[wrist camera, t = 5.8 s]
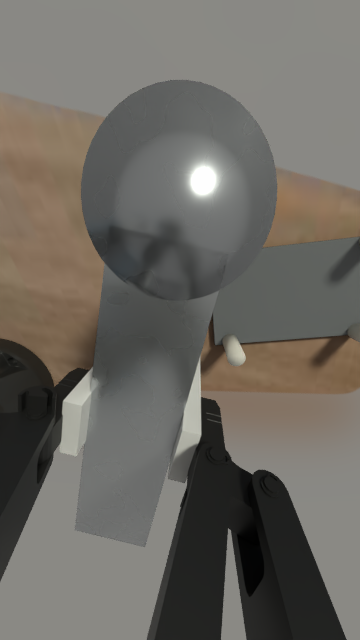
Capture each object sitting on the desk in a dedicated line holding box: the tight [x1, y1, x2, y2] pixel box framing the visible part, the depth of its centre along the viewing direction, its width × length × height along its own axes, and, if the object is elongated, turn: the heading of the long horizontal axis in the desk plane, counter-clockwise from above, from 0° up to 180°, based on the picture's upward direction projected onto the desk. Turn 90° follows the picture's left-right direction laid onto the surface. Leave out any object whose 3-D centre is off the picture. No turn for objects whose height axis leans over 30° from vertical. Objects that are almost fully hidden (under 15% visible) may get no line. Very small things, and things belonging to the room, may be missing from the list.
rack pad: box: [213, 237, 360, 366], centre depth 26 cm, size 20×13×6 cm, turn 96°
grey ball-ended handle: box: [75, 80, 277, 547], centre depth 12 cm, size 20×6×6 cm, turn 167°
